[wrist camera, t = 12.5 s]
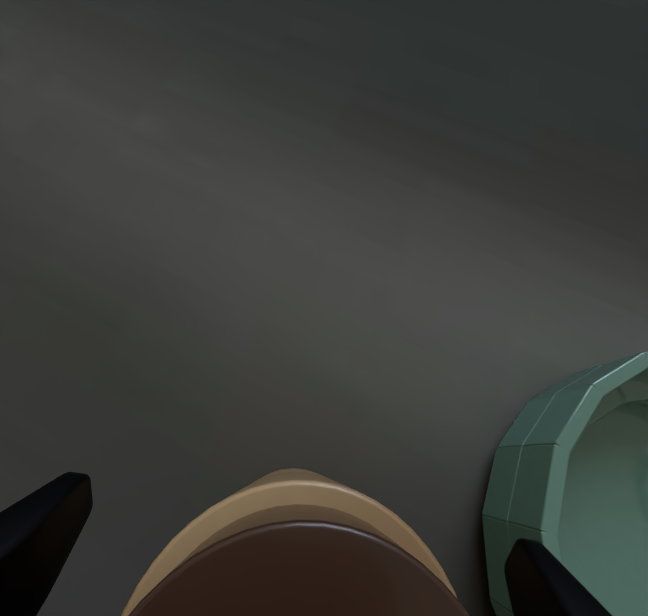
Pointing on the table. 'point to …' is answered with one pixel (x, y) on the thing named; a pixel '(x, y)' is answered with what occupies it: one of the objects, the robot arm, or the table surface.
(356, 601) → the pepper mill
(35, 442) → the table surface
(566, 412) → the bowl
